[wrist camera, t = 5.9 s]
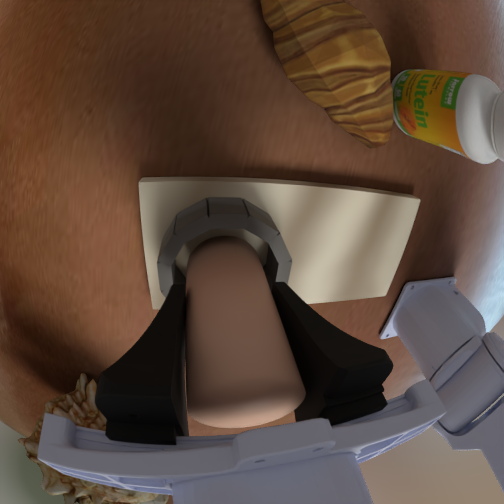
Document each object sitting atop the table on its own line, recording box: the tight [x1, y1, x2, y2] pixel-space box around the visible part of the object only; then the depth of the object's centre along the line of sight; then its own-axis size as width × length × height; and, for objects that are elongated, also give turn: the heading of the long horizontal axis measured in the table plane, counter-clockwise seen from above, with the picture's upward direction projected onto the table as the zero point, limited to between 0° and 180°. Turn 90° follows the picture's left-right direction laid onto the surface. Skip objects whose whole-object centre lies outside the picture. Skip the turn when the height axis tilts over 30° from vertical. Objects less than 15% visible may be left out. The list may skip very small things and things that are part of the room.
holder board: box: [139, 177, 421, 309], centre depth 18 cm, size 20×10×4 cm, turn 85°
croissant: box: [260, 0, 393, 148], centre depth 11 cm, size 14×7×5 cm, turn 35°
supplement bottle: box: [391, 69, 504, 164], centre depth 11 cm, size 5×5×10 cm
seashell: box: [18, 373, 168, 504], centre depth 20 cm, size 18×18×15 cm
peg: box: [185, 236, 306, 428], centre depth 12 cm, size 4×4×9 cm
